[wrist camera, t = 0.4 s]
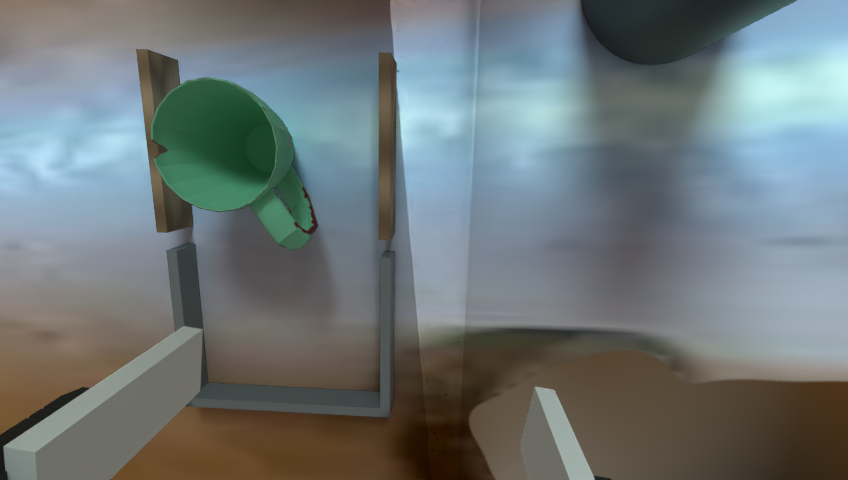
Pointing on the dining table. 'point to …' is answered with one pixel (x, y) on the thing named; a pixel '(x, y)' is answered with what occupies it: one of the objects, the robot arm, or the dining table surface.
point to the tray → (279, 397)
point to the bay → (169, 207)
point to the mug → (231, 156)
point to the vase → (670, 25)
